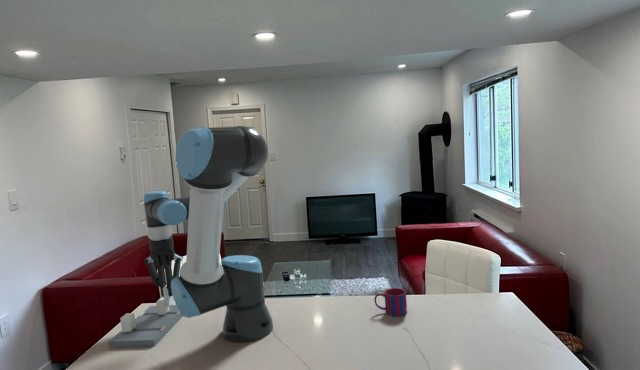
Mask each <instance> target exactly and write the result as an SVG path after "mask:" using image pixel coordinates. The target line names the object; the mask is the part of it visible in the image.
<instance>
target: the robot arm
mask: <svg viewBox="0 0 640 370" xmlns="http://www.w3.org/2000/svg"><path fill="white" fill-rule="evenodd" d="M268 156H269V148H268V144H267V141H266V139H265V138H264V137H263V135H262V134H261V133H260V132H259V131H258V130H256V129H254V128H252V127H250V126H246V125H245V126H244V125H235V126H218V127H214V126H213V127H206V126H205V127H199V128H192V129H187V130H186V131H184V132H183V133H182V134H181V136H180V137H179V139H178V141H177V144H176V149H175V162H176V169H177V172H178V174H179V176H180V177H181V178H183V180H184V183H185V184H186V185H187V186H188V187H189V188H190V189H189V196H183V197H177V198H171V199H170V198H169V195H168V192H167V191H166V190H155V191H148V192H145V193H144V195H143V206H144V213H145V220H146V229H147V238H148V239H149V240H148V244H149V246H148V247H149V251H150V253H149V256H148V257H147V258H145V259H144V260H143V263H144V264H145V265H146V267H147V270H148V271H149V276H150V278H151V281H152V283H153V285H154V287H158V288H159V289H160V296H161V298H164V302H165V307H170V306H171V305H174V304H175V305H176V306H177V308H178V310H179V311H180V313H181V314H182V315H183V317H185V318H187V319H191V318H193V317H194V318H195V317H197V316H198V317H199V316H201V315H204V314H207V313H209V312H212V311H216V310H218V309H220V308H223V307H226V310H225V316H224V320H223V324H222V334H223V337H224V338H225V339H227V340H228V341H231V342H238V343H245V342H251V341H252V342H253V341H256V340H259V339H261V338H264V337H266V336H267V335H268V334H270V333H271V332H272V331H273V329H274V323H273V322H274V321H273V318H272V316H271V313H270V311H269V309H268V307H267V305H266V300H265V298H266V297H265V290H264V289H265V288H264V278H263V277H264V276H263V267H262V263H261V260H260V259H259V258H258V257H256V256H253V255H242V254H241V255H228V256H224V257H223V258H222V259H221V262H220V255H221V254H220V252H221V241H222V230H223V219H224V212H225V211H226V207H227V200H229V199H230V197H231V196H232V195H233V194H235V192H236V191H238V189H239V188H240V187H241V186H242V185H243V184H244V183H245V182H246V180H247V179H249V178H251V177H255V176H256V175H257V174H258V173H259V172H261V171H262V169H263V167H264V166H265V165H266V163H267V161H268ZM187 221H188V222H187ZM184 222H187V223H188V224H187V243H186V244H187V245H186V259H185V262H184V263H183V264H182V265H181V263H182V261H183V259H184V256H182V255H178V254H177V253H176V251H175V248H174V247H175V245H174V237H173V236H172V235H173V229H172V226H178V225H180V224H181V223H184ZM173 262H174V263H173ZM172 263H173V269H172ZM173 301H174V304H173Z"/></svg>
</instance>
